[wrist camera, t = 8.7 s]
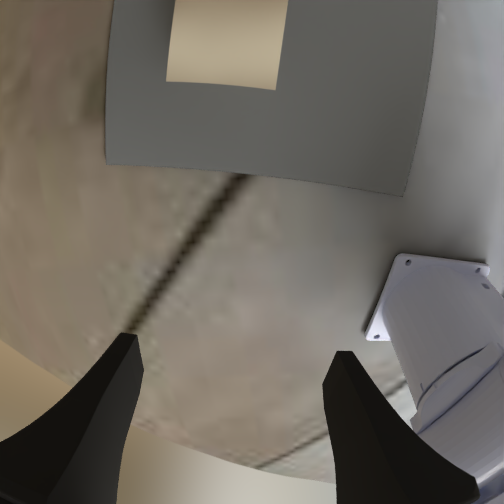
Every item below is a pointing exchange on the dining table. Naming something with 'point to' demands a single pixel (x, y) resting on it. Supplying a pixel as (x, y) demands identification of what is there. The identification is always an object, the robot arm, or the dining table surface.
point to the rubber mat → (280, 96)
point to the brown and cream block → (227, 42)
